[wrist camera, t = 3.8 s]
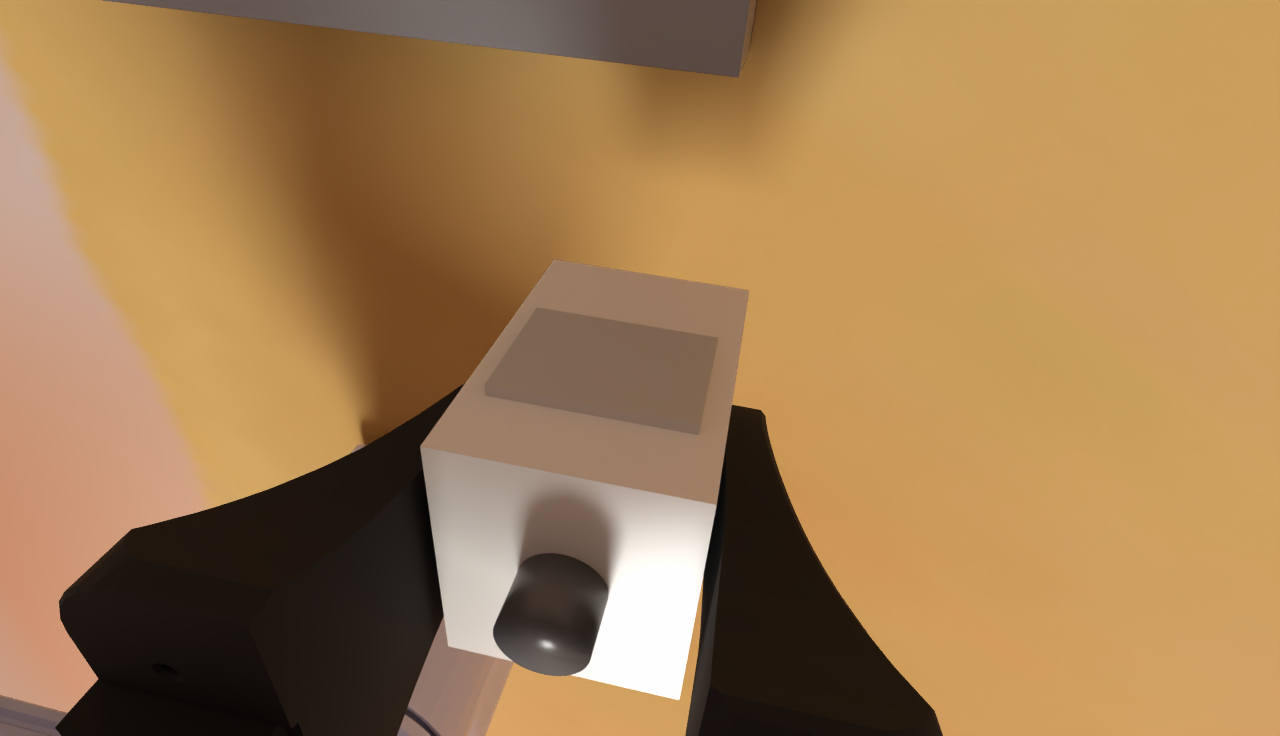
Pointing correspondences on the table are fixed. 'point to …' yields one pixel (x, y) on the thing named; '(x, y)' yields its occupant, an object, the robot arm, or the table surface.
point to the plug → (587, 476)
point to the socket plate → (533, 25)
